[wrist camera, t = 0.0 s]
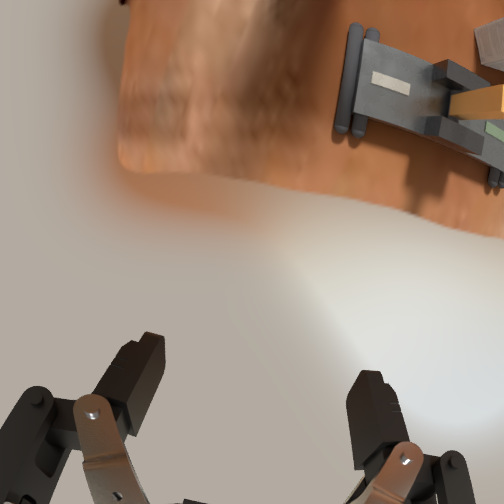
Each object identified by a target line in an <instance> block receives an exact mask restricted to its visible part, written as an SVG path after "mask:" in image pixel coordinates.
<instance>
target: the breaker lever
mask: <svg viewBox="0 0 504 504" xmlns="http://www.w3.org/2000/svg"><path fill="white" fill-rule="evenodd" d="M448 119H450V120H452V121H454V122H456V123H458V124H459V120H482V119H504V84H500V85H495V86H490V87H485V88H481V89H476V90H472V91H467V92H463V93H460V92H458V91H455V90H451V95H450V104H449V111H448Z"/></svg>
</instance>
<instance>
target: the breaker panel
mask: <svg viewBox="0 0 504 504" xmlns="http://www.w3.org/2000/svg"><path fill="white" fill-rule="evenodd" d="M490 84H491V83H489V82H488V81H486V80H484V79H483V78H481V77H480V76H478V75H476V74H474V73H473V72H471V71H469V70H468V69H466V68H464V67H462V66H460V65H458V64H457V63H455V62H453V61H451V60H449V59H447V60H444V61H441V62H438V63H435V64H431V63H429V62H427V61H425V60H422V59H420V58H418V57H415V56H413V55H410V54H408V53H405V52H403V51H400V50H398V49H395V48H392V47H389V46H387V45H384V44H381V43H378V42H375V41H372V40H368V39H365V38H364V39H363V40H362V42H361V49H360V56H359V64H358V71H357V77H356V84H355V90H354V96H353V102H352V108H351V114H352V115H354V114H358V115H362V116H365V117H368V119H370V120H373V121H377V122H380V123H383V124H386V125H389V126H392V127H395V128H398V129H401V130H404V131H407V132H410V133H412V134H415V135H418V136H421V137H423V138H426V139H428V140H431V141H433V142H436V143H438V144H441V145H443V146H446V147H448V148H450V149H453V150H455V151H457V152H459V153H462V154H464V155H466V156H468V157H470V158H472V159H474V160H477V161H479V162H481V163H483V164H485V165H487V166H489V167H492V168H495V169H497V170H499V171H500V172H503V173H504V119H482V120H459V124H458V123H456V122H454V121H452V120H450V119H448V111H449V104H450V95H451V90H455V91H458V92H460V93H463V92H467V91H472V90H476V89H481V88H485V87H490Z"/></svg>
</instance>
